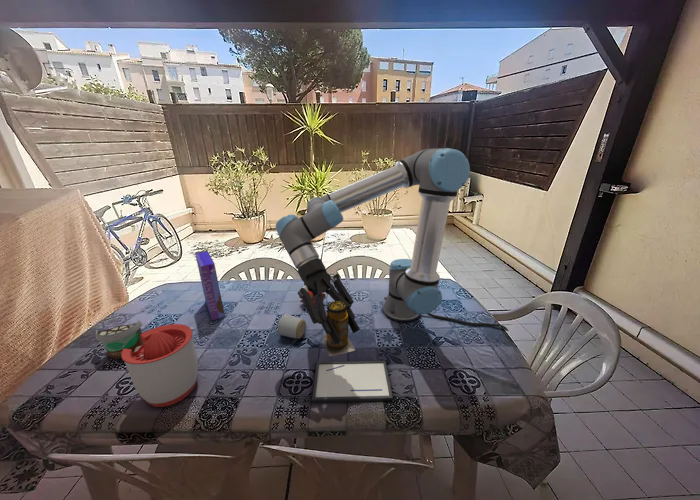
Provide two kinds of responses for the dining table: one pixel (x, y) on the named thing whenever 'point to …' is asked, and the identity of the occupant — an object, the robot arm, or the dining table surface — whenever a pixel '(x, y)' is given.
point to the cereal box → (210, 284)
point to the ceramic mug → (291, 326)
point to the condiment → (338, 329)
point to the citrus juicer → (163, 365)
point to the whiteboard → (351, 381)
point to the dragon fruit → (312, 297)
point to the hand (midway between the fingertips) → (347, 336)
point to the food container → (120, 339)
